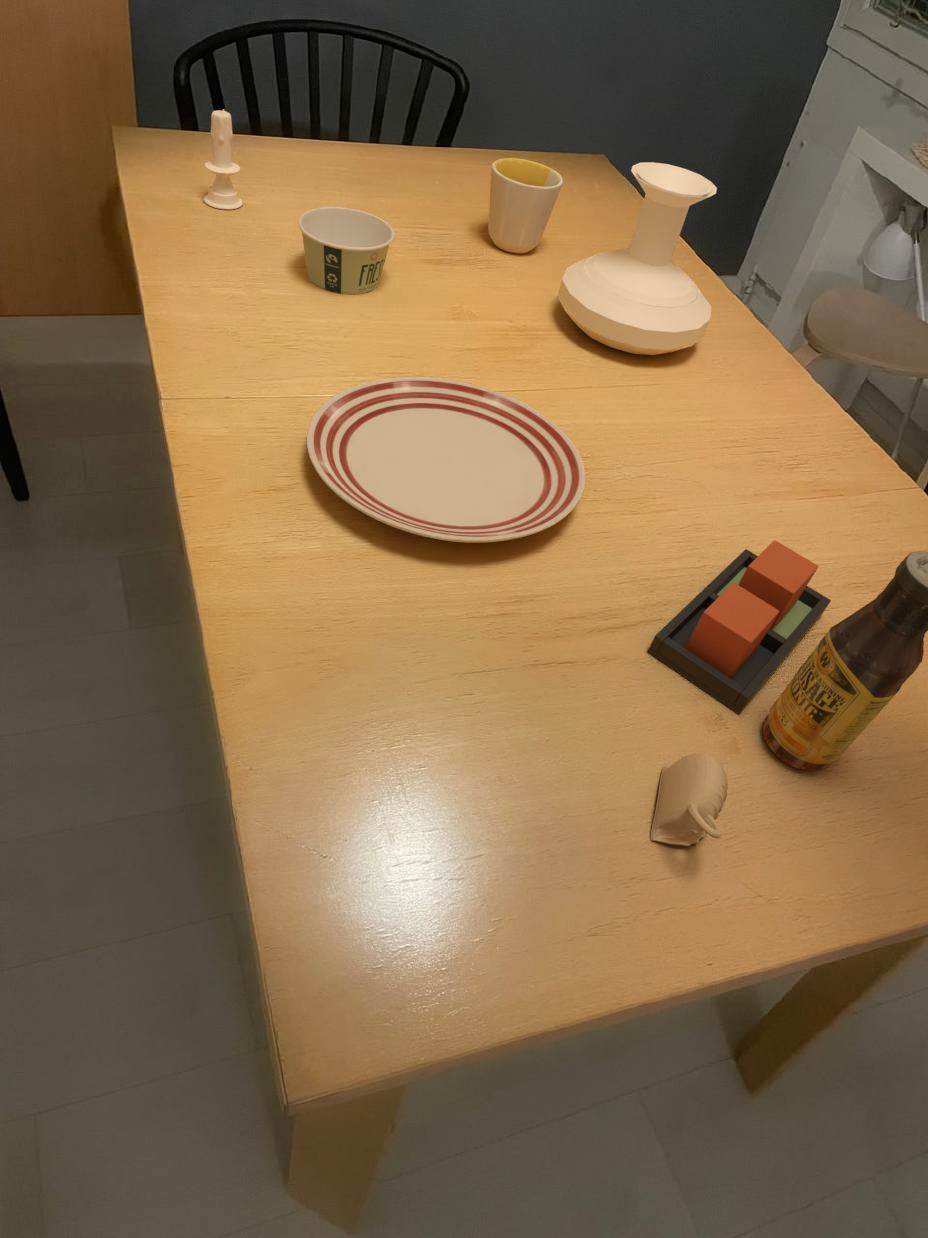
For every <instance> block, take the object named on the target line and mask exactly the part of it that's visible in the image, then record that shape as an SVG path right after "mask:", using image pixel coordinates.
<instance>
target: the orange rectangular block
mask: <svg viewBox="0 0 928 1238" xmlns="http://www.w3.org/2000/svg"><path fill="white" fill-rule="evenodd" d="M778 613H779V610H777V609H776V608H774V607H772V606H771V605H769V604H768V603H766V602H764V601H763V600H761V599H760V598H758V597H756V596H755V595H753V594H752V593H750V592H748V591H747V590H745V589H744V588H742V587H740V586H739V585H737V584H736V583H732V584H731V585H730V586H729V587H728V588H727V589H726V590H725V591H724V592H723V593H722V594H721V595H720V596H719V597H718V598H717V599H716V600H715V601H714V602H713V603H712V604H711V605H710V606H709V607H708V608H707V609H706V610H705V611H704V612H703V614H702V616H701V618H700V620H699V622H698V624H697V625H696V627H695V629H694V631H693V633H692V635H691V637H690V639H689V641H688V643H687V645H686V647H685V649H687V650H688V651H690V652H691V653H693V654H694V655H696V656H697V657H699V658H700V659H702V660H703V661H705V662H706V663H708V664H709V665H711V666H712V667H714V668H715V669H717V670H718V671H720V672H721V673H723V674H724V675H726V676H727V677H728V678H730V679H731V678H732V677H733V676H734V675H735V673H736V672H737V671H738V670H739V669H740V668H741V667H742V666H743V664H744V663H745V662H746V661H747V660H748V659H749V658H750V656H751V655H752V654H753V653H754V652H755V651H756V649H757V648H758V646H759V644H760V643H761V641H762V640H763V638H764V636H765V635H766V633H767V631H768V630H769V628H770V626H771V625H772V623H773V622H774V620H775V618H776V617H777V615H778Z"/></svg>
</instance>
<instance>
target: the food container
mask: <svg viewBox="0 0 928 1238" xmlns="http://www.w3.org/2000/svg"><path fill="white" fill-rule="evenodd" d="M297 226H298V228H299V230H300V231H301V235H302V244H303V252H304V259H305V266H306V274H307V277H308V279H309V280H310V281H311V282H312V283H313V284H314V285H316V286H317V287H319V288H321V289H324V290H326V291H329V292H332V293H336V294H342V295H361V294H366V293H369V292H372V291H374V290H375V289H376V288H377V287H378V285H379V284H380V279H381V275H382V272H383V269H384V266H385V261H386V258H387V255H388V251H389V248H390V245H391V244H392V243H393V242H394V240H395V237H396V233H395V230H394V228H393V226H392V225H390V223H388V221H385V220H384V219H382V218H381V217H379V216H377V215H375V214H372V213H370V212H367V211H363V210H361V209H357V208H356V209H355V208H351V207H343V206H321V207H315V208H312V209H309V210H306V211H304V212H303V213H301V214H300V216H299V217H298V220H297Z"/></svg>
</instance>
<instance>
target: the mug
mask: <svg viewBox="0 0 928 1238" xmlns="http://www.w3.org/2000/svg"><path fill="white" fill-rule="evenodd" d="M563 184H564V179H563V177H562V175H561V174H560V173H559V172H557V171H556V170H555V169H553V168H551V167H549V166H547V165H544V164H542V163H539V162H536V161H533V160H529V159H524V158H517V157H505V158H499V159H496V160H494V161H493V162H492V164H491V172H490V185H489V186H490V189H489V208H488V210H489V212H488V223H487V224H488V225H487V231H488V235H489V237H490V238H491V241H492V243H493V244H494V245H495V246H496V248H498V249H500V250H502V251H505V252H507V253H511V254H516V255H517V254H518V255H520V254H521V255H522V254H527V253H528V252H531V251H532V250H533V249H534V248H536V247H537V246H538V245H539V244H540V242H541V240H542V238H543V235H544V233H545V230H546V228H547V227H546V226H547V224H548V222H549V219H550V217H551V214H552V212H553V209H554V207H555V204H556V202H557V199H558V197H559V194H560V192H561V188H562V186H563Z"/></svg>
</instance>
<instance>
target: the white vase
mask: <svg viewBox="0 0 928 1238" xmlns="http://www.w3.org/2000/svg"><path fill="white" fill-rule="evenodd" d="M630 172H631V174H632V175H633V176H634V178H635V180H636V181H637V182H638V184H639V185H640V188H641V189H642V190H643V192H644V193H645V195H644V197H643V200H642V204H641V208H640V211H639V214H638V217H637V220H636V224H635V227H634V230H633V234H632V237H631V239H630V243H629V246H628V247H625V248H619V249H615V250H610V251H604V252H600V253H596V254H593V255H592V256H589V257H586V258H583V259H580V260H578V261H577V262H575V263H573V264H570V265H569V266H568V267H566V269H565V272H564V274H563V276H562V279H561V282H560V286H559V289H558V293H557V299H559V303H560V304H561V306H562V308H563V310H564V311H565V313H566V314H567V315H568V317H569V318H570V319H571V320H572V322H573V323H574V324H575V325H576V327H577V328H579V329H580V330H581V331H582V332H583V333H585V334H586V335H587V336H588V337H589V338H590V339H592V340H595V341H596V342H599V343H601V344H603V345H604V346H606V347H610V348H612V349H615V350H619V351H623V352H625V353H629V354H632V355H633V354H634V355H648V356H657V355H663V354H669V353H673V352H676V351H680V350H684V349H687V348H691V347H693V346H694V345H695V344H696V343H698V342H699V341H700V340H701V339H702V338H704V336H705V334H706V331H707V329H708V326H709V324H710V321H711V317H712V309H713V308H712V307H713V306H712V305H711V303H709V301H708V300H707V299H706V297H705V296H704V294H703V293H702V291H701V290H700V288H699V287H698V286H697V283H696V282H695V281H694V279H692V278H691V277H690V276H689V275H688V274H687V273H686V272H685V271H683V270H682V269H681V268H680V267H679V266H678V265H677V264H676V263H675V262H674V261H673V260H672V259H673V256H674V252H675V250H676V247H677V244H678V241H679V239H680V236H681V232H682V229H683V226H684V223H685V221H686V219H687V215H688V212H689V209H690V206H692V205H694V204H697V203H699V202H701V201H704V200H706V199H708V198H710V197H712V196H714V195H716V194H717V190H718V188H717V186H716V185H715V184H714V183H713V181H711V180H709V179H707V178H706V177H705V176H703V175H701V174H699V173H697V172H695V171H692V170H689V169H687V168H684V167H680V166H677V165H672V164H668V163H661V162H653V161H651V162H649V161H647V162H638V163H635V164H634V165H632V167H631V169H630Z"/></svg>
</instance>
